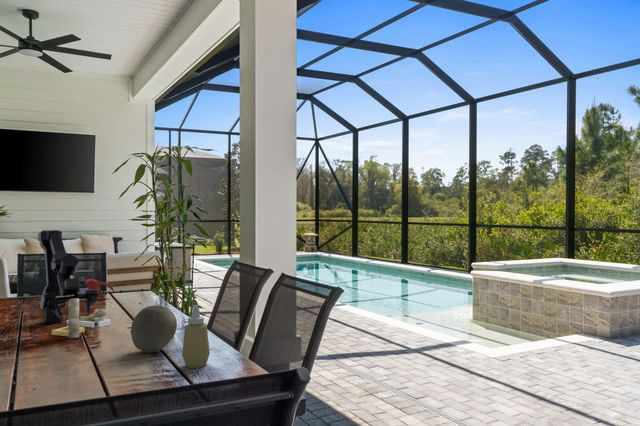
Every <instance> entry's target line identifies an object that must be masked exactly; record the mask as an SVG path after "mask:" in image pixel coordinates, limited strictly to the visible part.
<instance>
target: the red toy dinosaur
mask: <svg viewBox="0 0 640 426" xmlns="http://www.w3.org/2000/svg"><path fill="white" fill-rule="evenodd" d="M84 286H87V287H88V290H92V289H96V290H97V291H98V297H99V296H102V294H103V293H104V291H103V290H101V289H100V286H106V287H108V288H109V289H110V290H112V292H113V293H115V290H114V288H113V286H112V285H111V284H109V283H107V282H104V281H101V280H96V279H94V278H87V279H86V278H85V285H84Z"/></svg>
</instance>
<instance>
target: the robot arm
mask: <svg viewBox="0 0 640 426" xmlns="http://www.w3.org/2000/svg"><path fill="white" fill-rule="evenodd" d="M37 241H38V242H39V247H41V249H42V250H43V252H44V263H45V279H46V286H45V287H44V289H43V290H42V294H41V298H40V302H39V305H40V306H39V307H40V309H42V310H43V321H40V324H50V325H51V324H52V325H53V324H57V323H58V324H59V323H61V322H65V319H62V318H63V312H62V308H65V307H66V302H69V299H75V298H77V299H79V301H84V309H85V314H86V317H87V316H90V308H91V306H92V305H94V304H95V303H96V302H97V299H98V297H99V296H98V291H97V290H96V289H92V290H89V289H86V290H85V293H81V294H79V293H80V291H81V290H80V288H81V287H83V286H86V285H85V280H86V278H85V276H79V277H75V274H76V273H77V270H78V266H79V263H80V262H79V261H80V260H79V258H77V256H74V255H72V253H68V252H66V248H65V246H64V242H63V231H61V230H59V229H51V230H49V229H47V230H45V229H43V230H41V231H40V232H38V234H37Z"/></svg>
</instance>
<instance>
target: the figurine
mask: <svg viewBox="0 0 640 426" xmlns="http://www.w3.org/2000/svg"><path fill="white" fill-rule="evenodd" d="M106 315H107V311H106V309H104V308H100V309H98V310H97V311H96V312H95V313H93V314H89V315H88V316H87V315H86V316H80V317H81V318H80V317H79V321H90V322H94V321H93V320H92V319H94V318H104V317H105V316H106ZM67 326H69V323H68V325H67Z"/></svg>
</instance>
